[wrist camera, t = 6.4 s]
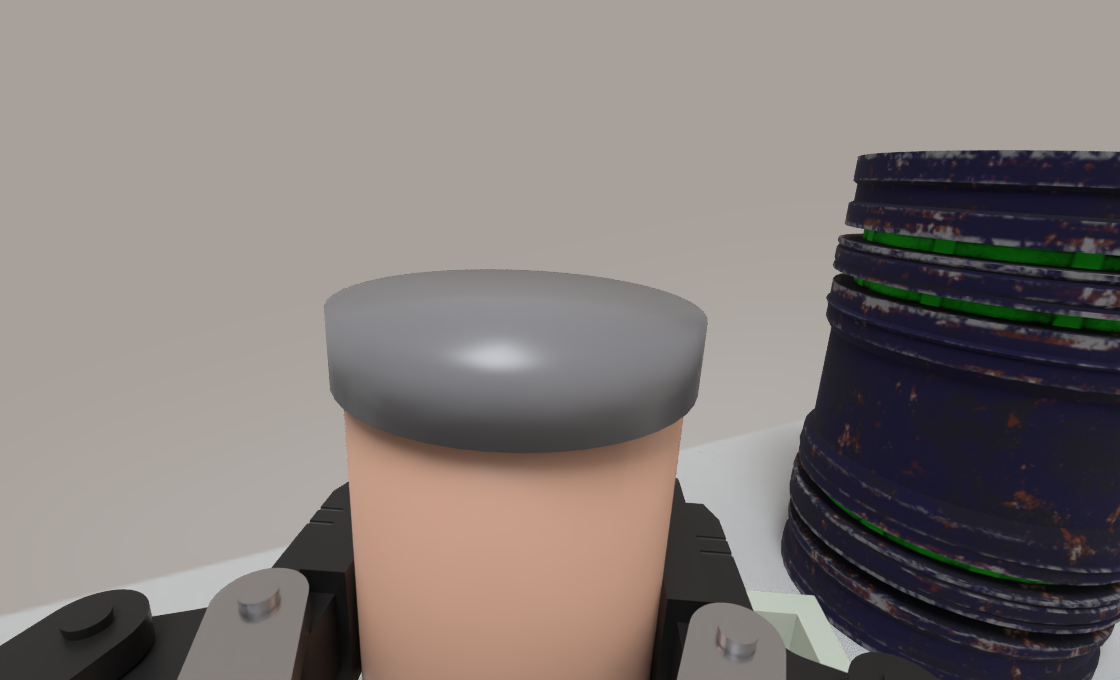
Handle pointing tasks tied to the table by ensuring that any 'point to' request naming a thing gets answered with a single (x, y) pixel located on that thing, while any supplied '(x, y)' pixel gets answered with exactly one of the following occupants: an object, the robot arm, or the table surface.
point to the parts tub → (801, 626)
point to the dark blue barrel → (969, 416)
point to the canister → (511, 468)
